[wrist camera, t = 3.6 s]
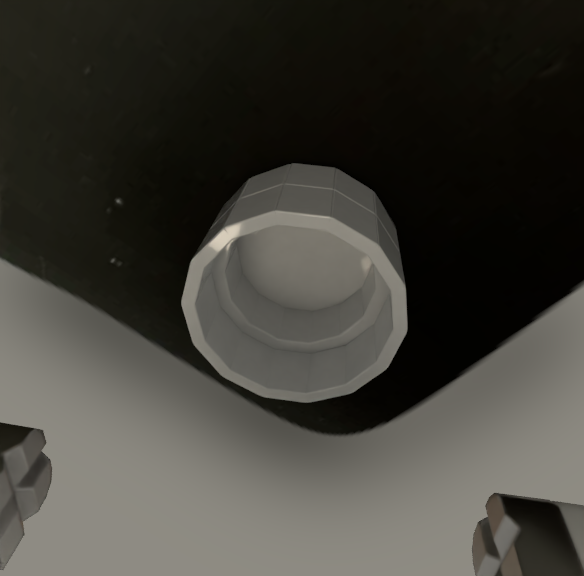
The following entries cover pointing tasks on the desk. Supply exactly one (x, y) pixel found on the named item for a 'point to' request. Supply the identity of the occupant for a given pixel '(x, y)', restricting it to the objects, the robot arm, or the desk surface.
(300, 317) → the steel bowl
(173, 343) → the desk surface
